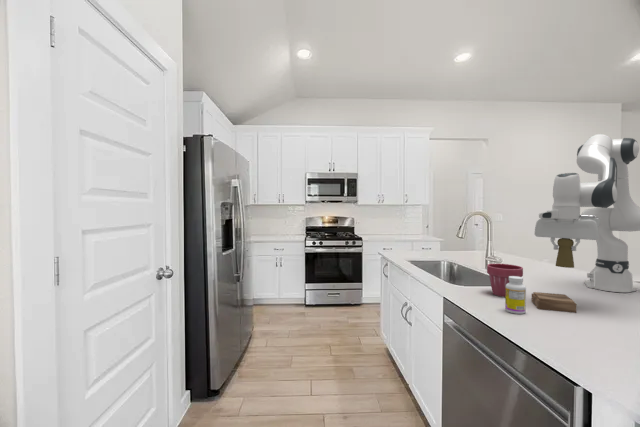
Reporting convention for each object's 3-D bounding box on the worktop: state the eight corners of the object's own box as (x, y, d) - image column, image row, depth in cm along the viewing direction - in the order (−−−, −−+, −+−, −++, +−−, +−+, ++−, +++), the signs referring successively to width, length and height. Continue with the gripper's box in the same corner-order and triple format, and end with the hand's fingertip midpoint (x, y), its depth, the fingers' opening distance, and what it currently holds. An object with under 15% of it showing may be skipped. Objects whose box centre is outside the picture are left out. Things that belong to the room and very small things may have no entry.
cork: (573, 266, 136) (574, 238, 136) (575, 268, 131) (576, 239, 131) (554, 264, 139) (555, 237, 139) (556, 266, 134) (557, 238, 134)
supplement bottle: (508, 308, 133) (509, 274, 133) (528, 311, 129) (528, 277, 128) (502, 311, 129) (503, 277, 128) (522, 315, 124) (523, 279, 124)
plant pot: (521, 300, 144) (522, 270, 144) (484, 295, 152) (485, 266, 151) (522, 293, 156) (523, 265, 156) (488, 289, 164) (488, 262, 163)
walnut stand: (531, 301, 143) (531, 291, 143) (565, 304, 139) (566, 294, 139) (538, 309, 132) (538, 298, 132) (576, 312, 128) (576, 301, 128)
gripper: (600, 215, 131) (598, 252, 131) (536, 214, 143) (535, 247, 143) (600, 215, 126) (599, 253, 126) (534, 213, 138) (533, 248, 138)
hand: (564, 250), depth 135 cm, fingers closed on cork, 4 cm apart
